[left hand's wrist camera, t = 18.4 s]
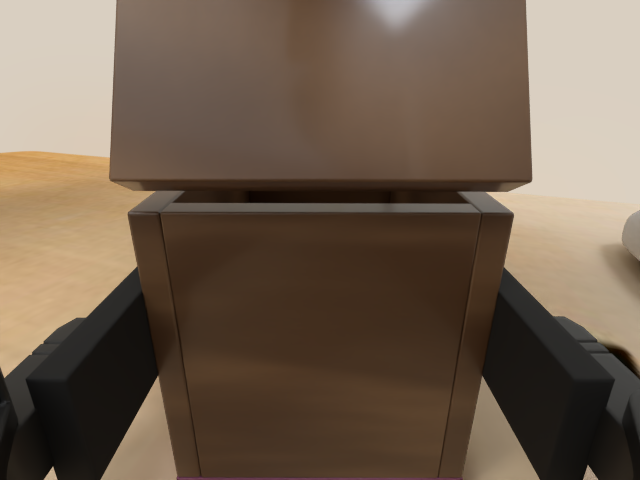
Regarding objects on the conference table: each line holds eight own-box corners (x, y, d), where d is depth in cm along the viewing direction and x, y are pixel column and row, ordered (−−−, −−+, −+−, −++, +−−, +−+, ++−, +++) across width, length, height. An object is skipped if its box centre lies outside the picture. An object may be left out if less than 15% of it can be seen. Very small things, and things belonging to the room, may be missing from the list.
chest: (245, 295, 25) (232, 132, 21) (394, 295, 25) (407, 133, 21) (179, 495, 13) (125, 212, 10) (459, 495, 13) (516, 213, 10)
